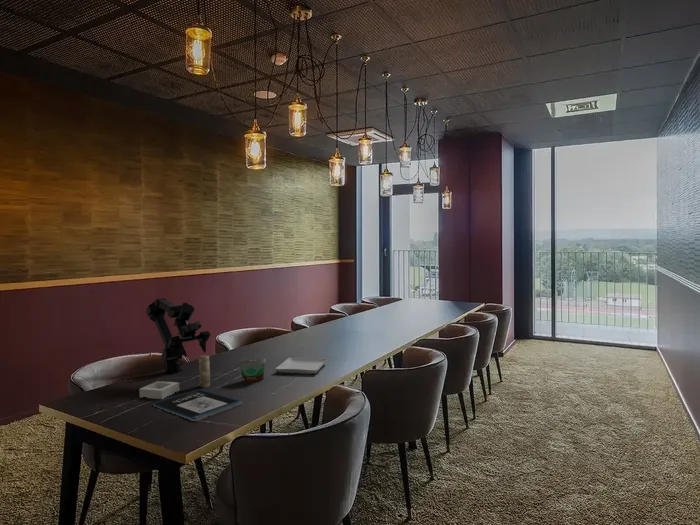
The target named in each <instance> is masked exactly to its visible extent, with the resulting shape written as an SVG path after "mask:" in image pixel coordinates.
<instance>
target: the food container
mask: <svg viewBox="0 0 700 525" xmlns="http://www.w3.org/2000/svg"><path fill="white" fill-rule="evenodd" d="M266 363H267V359H266V357H264V358H262V359H255V358H254V359H253V358H251V359H248V360H241V359H239V361H238V365H239V366H240V372H241V378H242V382H243V383H246V384H256V382H257V383H260V381H261V382H263V381H264V379H265V378H264V376H265V364H266ZM262 380H263V381H262Z"/></svg>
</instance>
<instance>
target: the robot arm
mask: <svg viewBox="0 0 700 525" xmlns="http://www.w3.org/2000/svg"><path fill="white" fill-rule="evenodd" d="M145 311H146V312H145V313H146V316H147V317H148V318H149V320H151V321H152V322H154V323H155V325H156V329H157V330H158V333H159V335H160V338H161V340H162V342H163V344H164V345H163V349H162V352H161V355H160V359H161V361H162V362H164V371H163V372H162V374H172V375H174V374H177V373H179V372H181V371H182V369H181V363H180V360H182V359H183V356H184V357H188V355H187V354H188V353H187V351H186V349H185V346H184V345H183V343H187V342H188V343H189V342H193V341H198V345H199V346H200V348H201V349H202V351H203V353H204V354H206V352H207V342H208V340H209V339H210V337H211V333H210V331H209V330H203V331H200V332H199V334H198V335H196V334H197V331H199V329H201V328H202V323H201V321H199V320H197V321H195V322H191V323H190V322H189V321H190V320H191V318H192V317H193V314H194V312H195V307H194V306H193V305H191V304H189V303H188V302H182V304H175V303H173V302H171V301H169V300H167V298H164V297H162V298H157V299H154V301H153V302H152V303H150V304H149V305H148V306H147V307H146V310H145ZM166 313H167V316H168V317H169V318H170V319H174V323H173V326H174V327H176V329H177V330H178V333H177V334H178V335H172V332H171V330H170V327H169V325H168V324H167V321H166V319H165V315H166Z"/></svg>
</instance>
